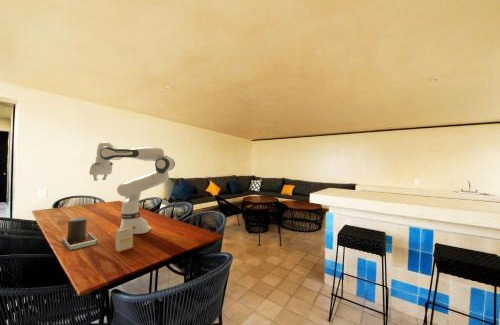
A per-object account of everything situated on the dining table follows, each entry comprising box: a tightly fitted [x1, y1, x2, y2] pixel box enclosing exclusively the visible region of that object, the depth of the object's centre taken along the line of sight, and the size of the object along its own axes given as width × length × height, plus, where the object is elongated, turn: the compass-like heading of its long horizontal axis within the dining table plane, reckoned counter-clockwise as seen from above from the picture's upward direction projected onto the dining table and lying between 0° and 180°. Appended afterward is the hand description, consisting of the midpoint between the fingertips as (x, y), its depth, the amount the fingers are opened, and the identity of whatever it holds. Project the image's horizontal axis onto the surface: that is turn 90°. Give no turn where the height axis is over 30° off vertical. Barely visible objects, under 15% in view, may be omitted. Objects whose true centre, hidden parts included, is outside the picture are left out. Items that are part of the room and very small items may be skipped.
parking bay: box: [61, 231, 98, 251], centre depth 133 cm, size 20×14×2 cm
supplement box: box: [115, 226, 134, 253], centre depth 126 cm, size 8×5×13 cm, turn 141°
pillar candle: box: [66, 217, 87, 243], centre depth 138 cm, size 10×10×15 cm
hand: (99, 180), depth 157 cm, fingers open, 8 cm apart
